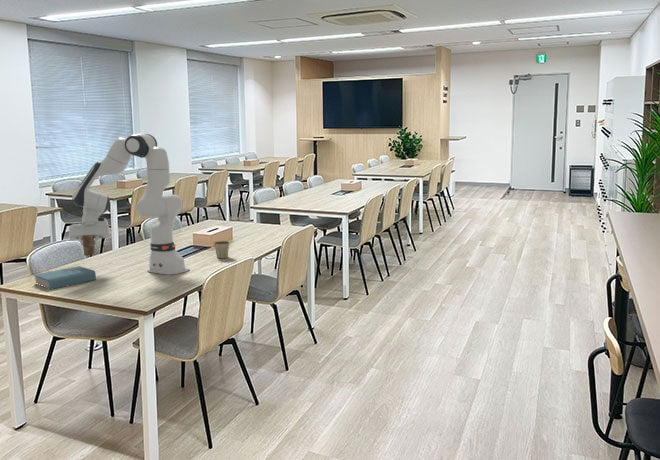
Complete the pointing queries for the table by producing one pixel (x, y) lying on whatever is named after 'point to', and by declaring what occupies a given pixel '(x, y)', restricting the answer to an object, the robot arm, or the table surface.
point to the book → (65, 277)
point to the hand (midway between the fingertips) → (88, 244)
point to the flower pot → (221, 249)
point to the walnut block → (88, 245)
